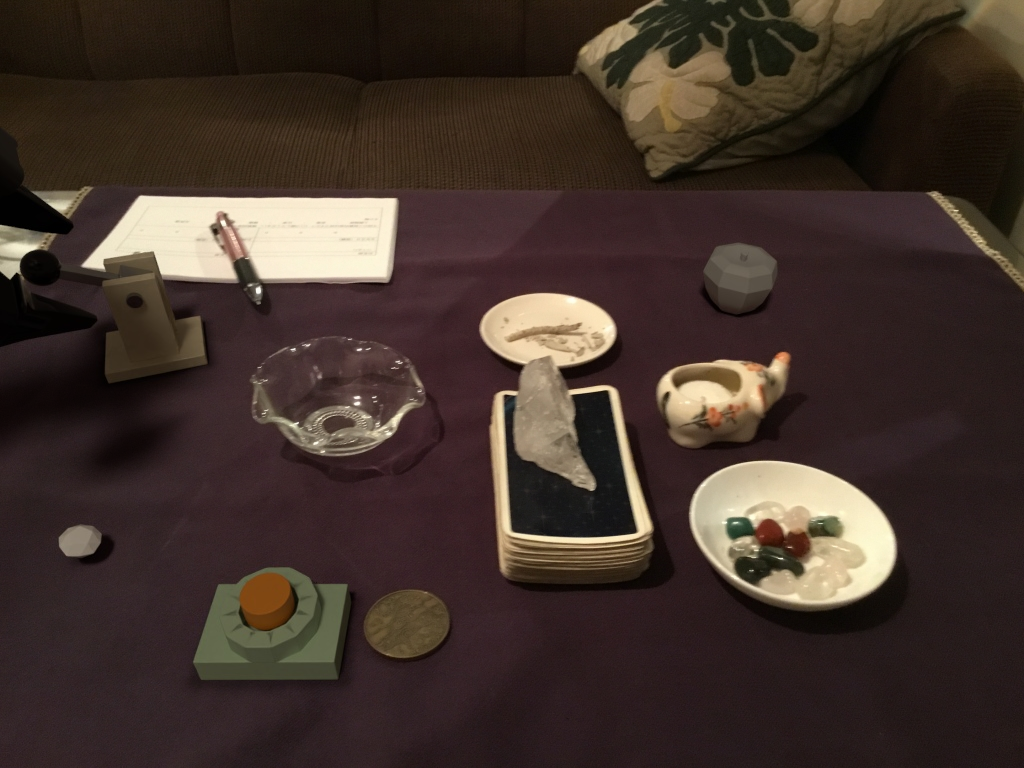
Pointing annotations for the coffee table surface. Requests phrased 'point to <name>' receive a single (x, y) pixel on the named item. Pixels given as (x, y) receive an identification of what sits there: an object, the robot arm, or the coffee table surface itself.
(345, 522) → the coffee table surface
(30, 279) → the press lever
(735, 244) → the apple
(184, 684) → the coffee table surface
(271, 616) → the button
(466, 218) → the coffee table surface
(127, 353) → the lever bracket
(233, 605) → the button block
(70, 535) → the gemstone
